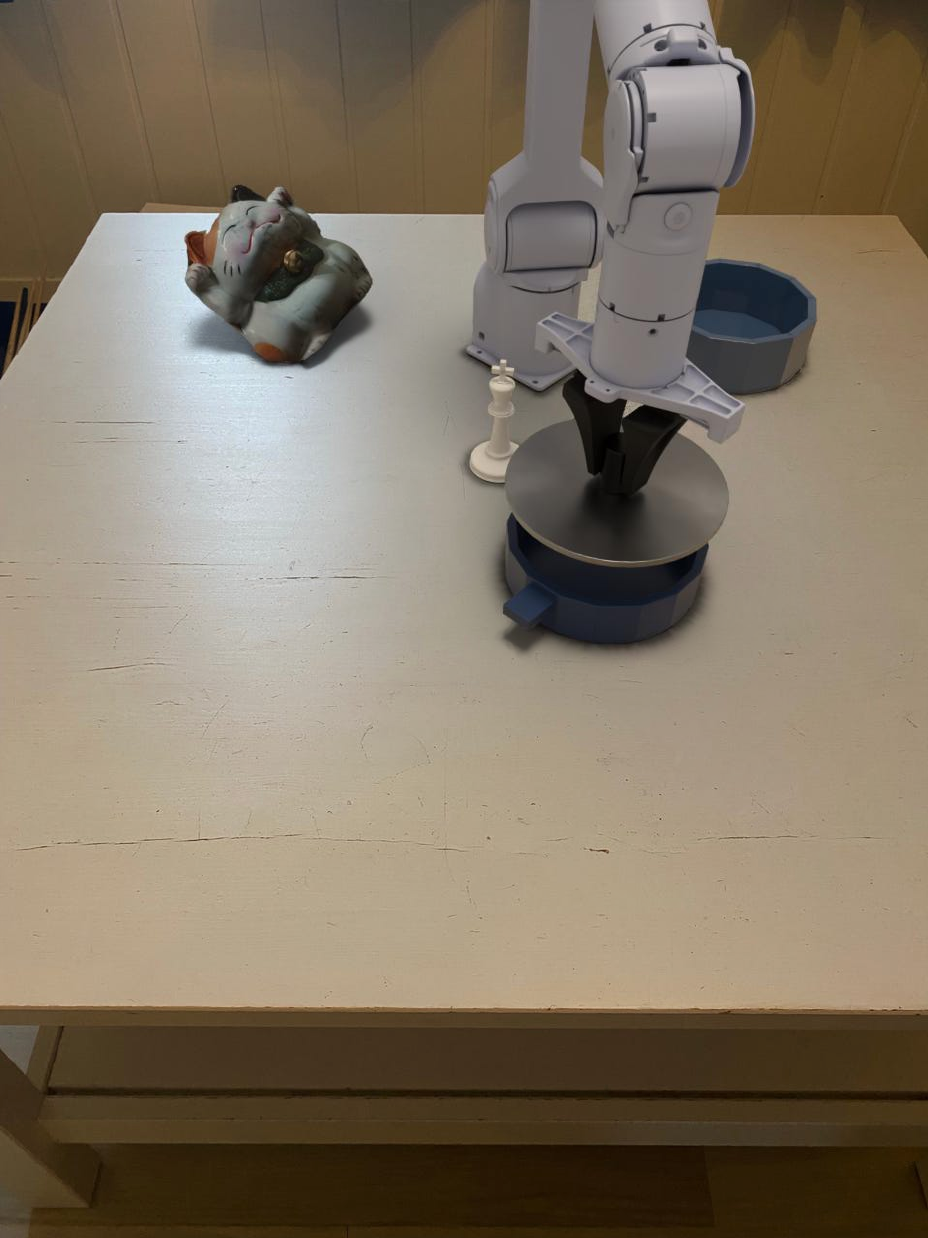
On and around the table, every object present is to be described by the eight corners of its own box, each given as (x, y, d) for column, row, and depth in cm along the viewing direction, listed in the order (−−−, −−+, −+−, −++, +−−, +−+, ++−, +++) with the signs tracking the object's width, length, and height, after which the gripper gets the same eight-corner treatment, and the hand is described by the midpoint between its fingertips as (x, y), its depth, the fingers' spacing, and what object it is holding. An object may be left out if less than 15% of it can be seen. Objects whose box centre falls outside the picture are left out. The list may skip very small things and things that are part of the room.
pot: (617, 350, 91) (624, 299, 87) (702, 293, 98) (713, 244, 94) (747, 413, 84) (761, 361, 80) (828, 348, 92) (846, 297, 88)
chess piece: (522, 486, 78) (530, 383, 70) (464, 478, 78) (465, 375, 71) (532, 449, 81) (539, 347, 73) (475, 442, 81) (477, 339, 74)
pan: (440, 591, 70) (440, 553, 67) (605, 467, 79) (611, 430, 76) (594, 700, 63) (600, 663, 60) (753, 551, 73) (766, 513, 70)
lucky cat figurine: (286, 384, 87) (189, 250, 78) (235, 373, 96) (143, 252, 88) (397, 283, 90) (316, 145, 82) (338, 282, 100) (259, 158, 91)
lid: (458, 496, 66) (458, 444, 62) (595, 401, 73) (602, 350, 70) (636, 611, 59) (648, 559, 55) (768, 493, 66) (785, 441, 63)
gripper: (507, 275, 56) (499, 456, 66) (714, 375, 49) (669, 558, 60) (582, 234, 59) (563, 412, 70) (785, 322, 53) (731, 504, 63)
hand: (616, 477), depth 65 cm, fingers closed on lid, 2 cm apart
